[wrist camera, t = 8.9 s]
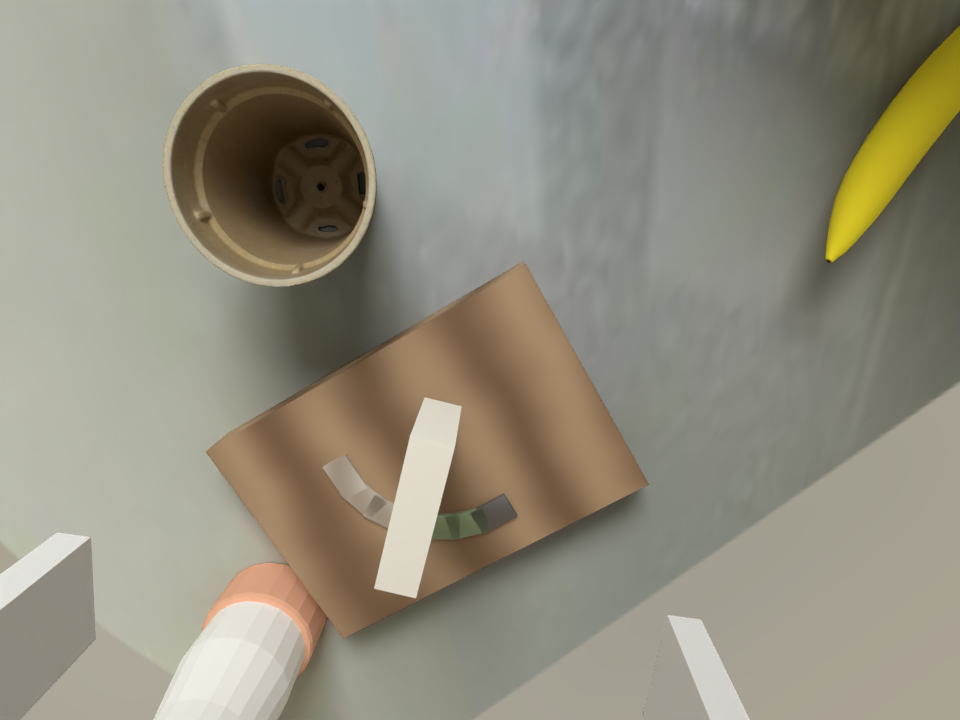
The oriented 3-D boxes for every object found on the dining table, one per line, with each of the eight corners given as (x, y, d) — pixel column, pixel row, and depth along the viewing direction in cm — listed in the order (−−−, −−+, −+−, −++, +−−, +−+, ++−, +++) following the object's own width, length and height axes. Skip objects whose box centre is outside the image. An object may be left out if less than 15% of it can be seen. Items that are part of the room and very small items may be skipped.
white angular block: (434, 365, 33) (407, 435, 23) (468, 374, 33) (457, 447, 23) (394, 533, 36) (353, 666, 25) (426, 541, 36) (398, 676, 25)
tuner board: (523, 261, 35) (526, 265, 32) (636, 463, 38) (650, 486, 34) (227, 433, 38) (203, 453, 35) (353, 608, 41) (342, 641, 38)
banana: (763, 241, 34) (822, 246, 28) (1013, -62, 30) (1145, -133, 24) (800, 270, 35) (866, 281, 28) (1052, -26, 31) (1192, -87, 24)
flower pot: (434, 222, 34) (414, 224, 26) (300, 297, 36) (240, 322, 27) (351, 69, 32) (301, 18, 24) (212, 154, 34) (119, 134, 25)
